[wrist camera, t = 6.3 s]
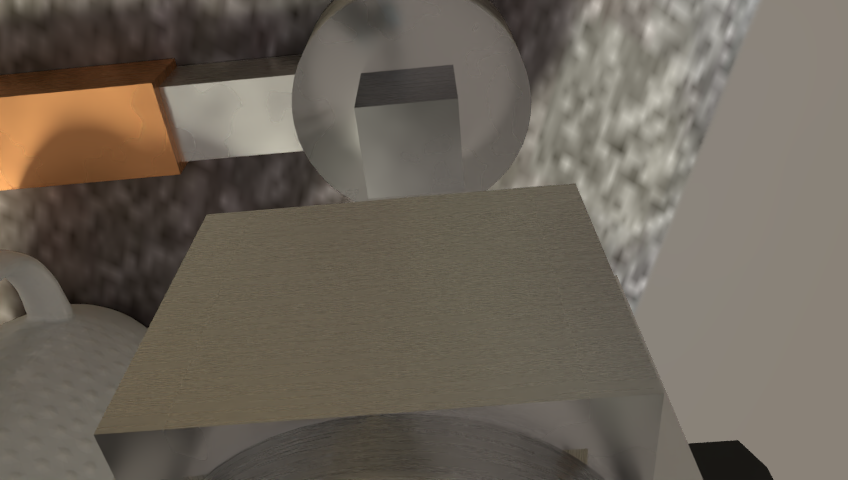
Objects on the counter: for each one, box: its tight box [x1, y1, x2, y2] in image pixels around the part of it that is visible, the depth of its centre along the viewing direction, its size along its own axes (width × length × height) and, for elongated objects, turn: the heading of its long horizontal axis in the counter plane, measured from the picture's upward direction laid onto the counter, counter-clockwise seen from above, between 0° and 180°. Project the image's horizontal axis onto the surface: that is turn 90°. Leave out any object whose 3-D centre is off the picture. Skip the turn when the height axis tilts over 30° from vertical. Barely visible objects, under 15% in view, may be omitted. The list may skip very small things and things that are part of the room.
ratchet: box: [0, 0, 531, 202], centre depth 23 cm, size 8×22×6 cm, turn 95°
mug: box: [0, 250, 148, 480], centre depth 26 cm, size 15×11×13 cm
